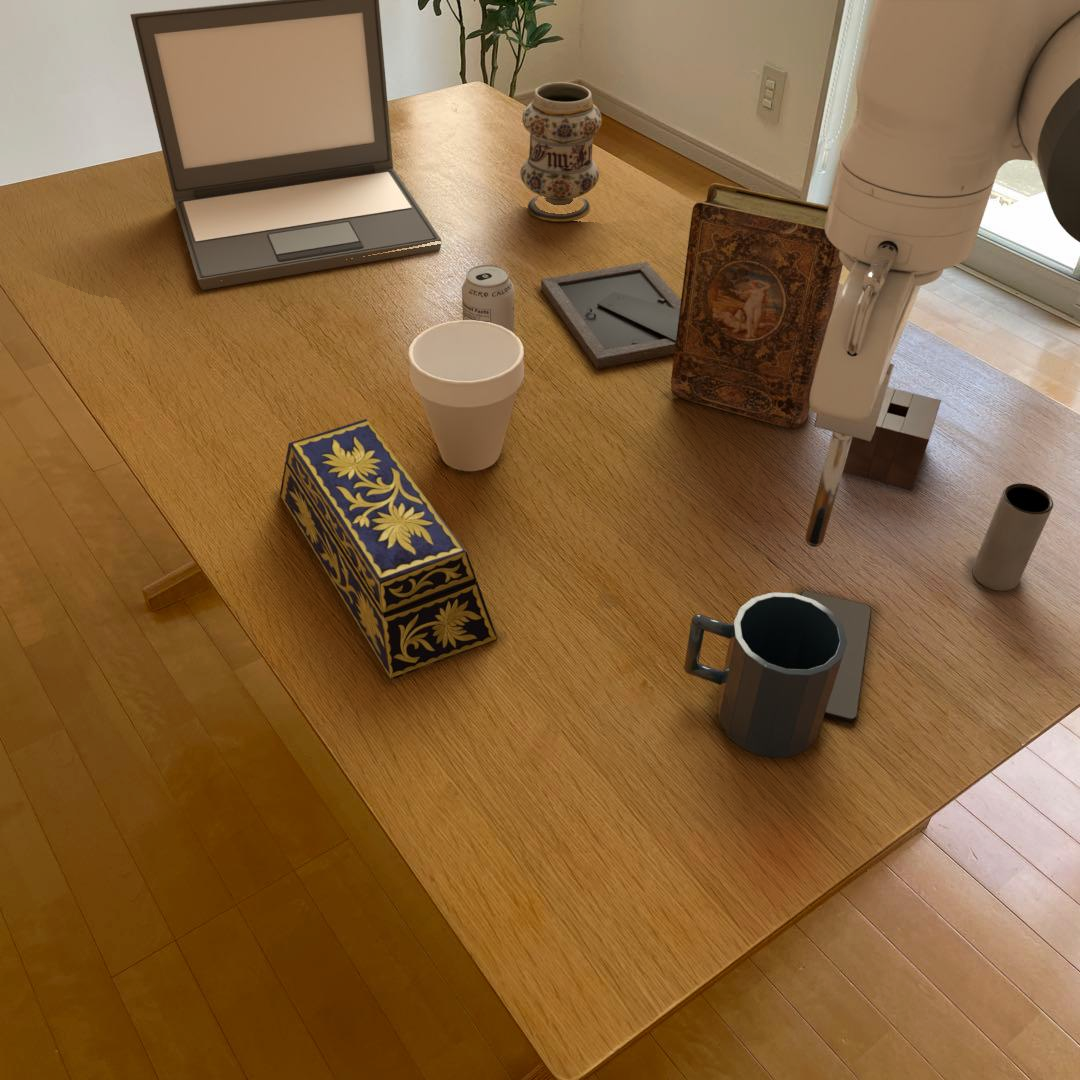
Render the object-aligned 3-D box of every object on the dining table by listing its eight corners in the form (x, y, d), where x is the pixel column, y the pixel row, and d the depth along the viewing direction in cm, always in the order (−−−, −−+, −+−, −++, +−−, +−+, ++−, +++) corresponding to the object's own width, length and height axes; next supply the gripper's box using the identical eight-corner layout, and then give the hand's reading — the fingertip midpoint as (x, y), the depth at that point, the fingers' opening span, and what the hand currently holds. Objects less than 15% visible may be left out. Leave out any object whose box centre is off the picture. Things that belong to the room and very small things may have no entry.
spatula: (840, 546, 82) (894, 363, 70) (836, 558, 81) (890, 374, 69) (790, 531, 83) (835, 349, 71) (785, 542, 82) (830, 359, 70)
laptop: (200, 290, 145) (151, 79, 126) (175, 207, 164) (129, 12, 145) (441, 249, 155) (430, 48, 136) (392, 175, 174) (376, -12, 154)
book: (812, 407, 127) (858, 212, 110) (800, 432, 123) (845, 233, 106) (684, 373, 132) (708, 181, 115) (669, 395, 128) (692, 201, 111)
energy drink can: (523, 389, 129) (523, 279, 119) (480, 404, 127) (477, 293, 116) (499, 366, 133) (497, 257, 123) (457, 379, 130) (451, 270, 120)
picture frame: (711, 347, 137) (646, 271, 151) (713, 333, 135) (647, 258, 150) (596, 369, 132) (541, 289, 147) (597, 355, 131) (541, 276, 146)
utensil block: (924, 449, 121) (941, 399, 116) (912, 490, 116) (929, 439, 111) (855, 431, 124) (869, 382, 119) (840, 470, 118) (853, 420, 113)
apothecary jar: (612, 208, 166) (620, 91, 153) (561, 233, 159) (564, 113, 147) (556, 185, 172) (559, 70, 159) (504, 208, 165) (503, 91, 153)
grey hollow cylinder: (975, 554, 108) (1006, 477, 101) (1021, 568, 107) (1056, 491, 100) (968, 582, 105) (999, 504, 98) (1015, 597, 104) (1050, 519, 97)
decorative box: (371, 464, 118) (362, 398, 112) (497, 639, 99) (496, 571, 93) (278, 494, 114) (265, 427, 108) (392, 682, 95) (383, 614, 89)
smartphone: (872, 604, 102) (856, 721, 92) (870, 611, 103) (854, 727, 92) (801, 588, 104) (778, 700, 93) (799, 594, 105) (776, 707, 94)
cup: (420, 491, 115) (411, 387, 105) (412, 424, 123) (403, 323, 114) (531, 481, 116) (532, 378, 107) (516, 416, 125) (515, 315, 116)
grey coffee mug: (830, 696, 95) (857, 612, 87) (805, 772, 89) (832, 689, 81) (696, 651, 98) (711, 566, 91) (664, 721, 92) (677, 637, 85)
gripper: (927, 304, 55) (866, 503, 65) (981, 159, 69) (925, 341, 78) (808, 276, 57) (766, 474, 66) (884, 141, 71) (841, 321, 80)
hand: (853, 401), depth 72 cm, fingers closed on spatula, 1 cm apart
